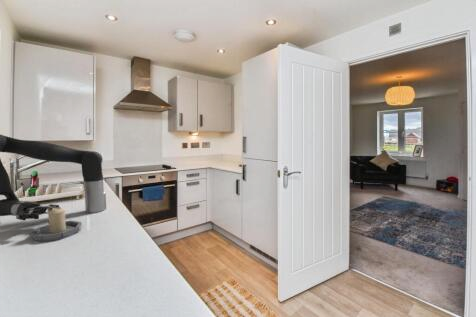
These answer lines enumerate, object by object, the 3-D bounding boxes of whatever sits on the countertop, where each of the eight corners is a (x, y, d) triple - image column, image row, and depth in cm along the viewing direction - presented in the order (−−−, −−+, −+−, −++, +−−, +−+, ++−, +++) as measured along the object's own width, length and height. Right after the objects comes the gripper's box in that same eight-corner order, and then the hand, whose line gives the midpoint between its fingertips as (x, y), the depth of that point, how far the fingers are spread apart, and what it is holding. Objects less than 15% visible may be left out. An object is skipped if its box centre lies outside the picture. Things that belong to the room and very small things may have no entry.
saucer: (65, 224, 110) (65, 219, 110) (89, 228, 104) (88, 223, 104) (24, 238, 95) (23, 232, 95) (49, 244, 89) (49, 237, 89)
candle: (57, 234, 96) (55, 210, 96) (46, 232, 98) (44, 209, 97) (69, 228, 102) (67, 206, 101) (58, 228, 103) (57, 205, 102)
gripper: (5, 206, 100) (29, 209, 94) (43, 197, 113) (65, 200, 107) (7, 223, 100) (30, 227, 95) (44, 212, 114) (67, 216, 108)
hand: (49, 213), depth 101 cm, fingers open, 8 cm apart
